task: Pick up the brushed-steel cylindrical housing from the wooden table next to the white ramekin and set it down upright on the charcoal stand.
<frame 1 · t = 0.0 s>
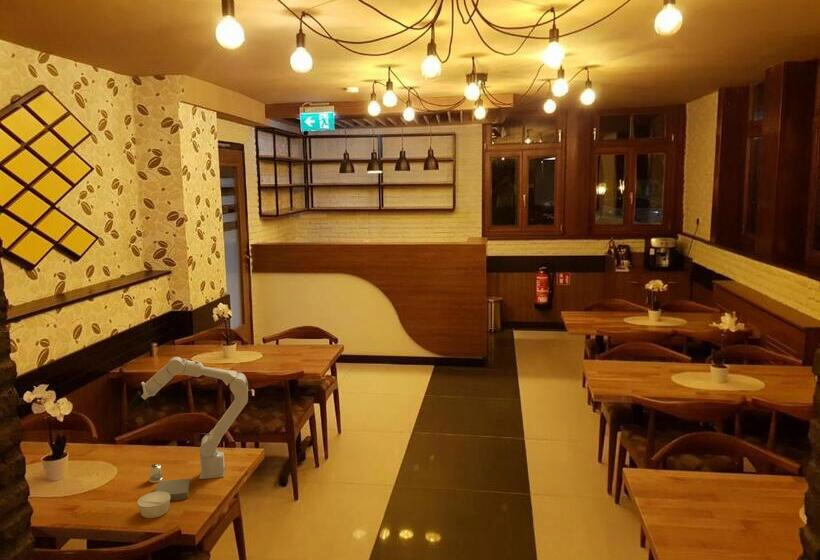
hand: (132, 405, 251), 32 cm above the table, tool tilted 50°, fingers open, 7 cm apart
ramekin: (155, 512, 233), on the table
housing: (156, 480, 258), on the table
stand: (172, 493, 247), on the table
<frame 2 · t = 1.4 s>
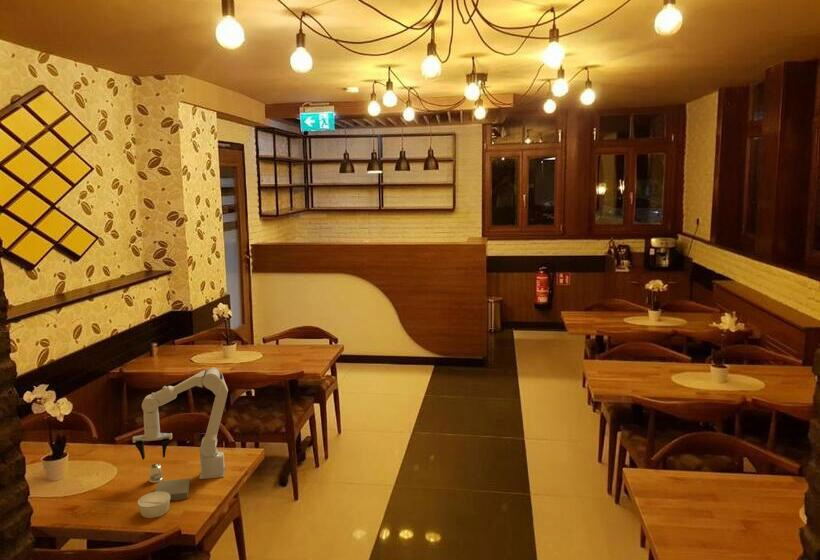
hand: (153, 457, 256), 10 cm above the table, tool pointing down, fingers open, 7 cm apart
nothing on the table moved.
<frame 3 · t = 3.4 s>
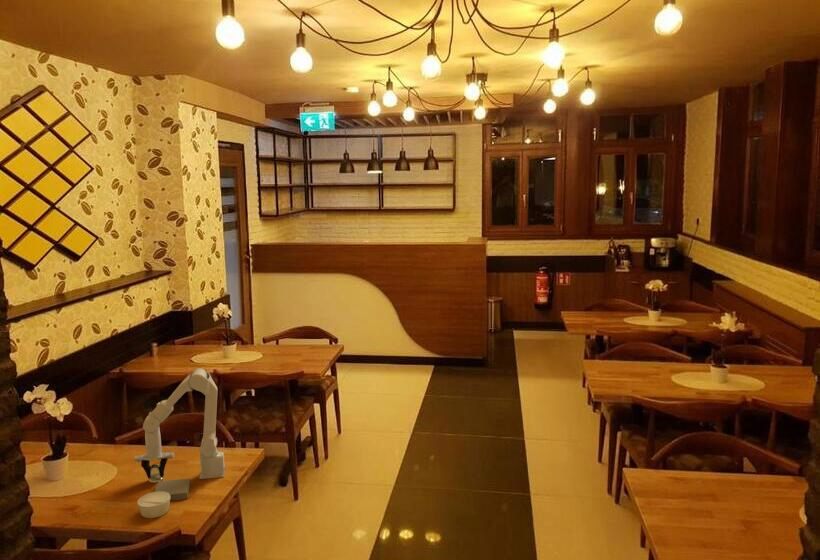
hand: (155, 476, 258), 1 cm above the table, tool pointing down, fingers closed on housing, 4 cm apart
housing: (156, 480, 258), on the table, touching gripper
everything else where it was.
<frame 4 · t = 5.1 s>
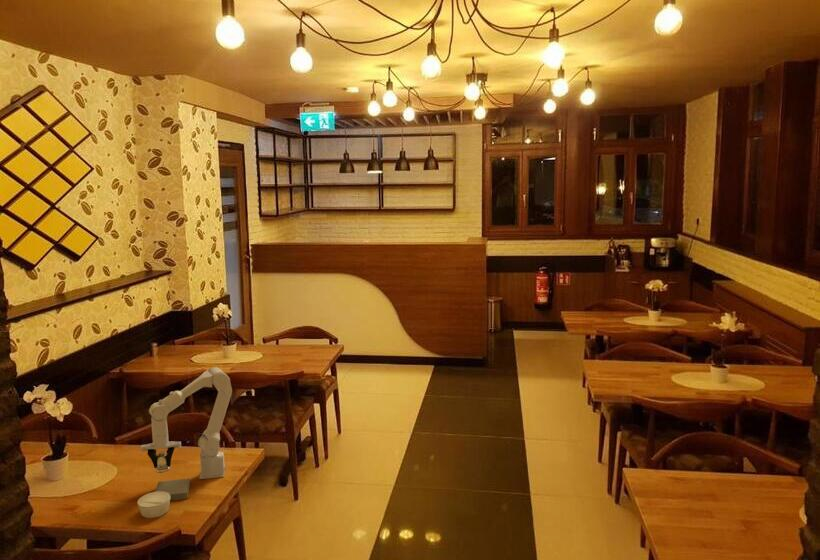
hand: (162, 466, 251), 8 cm above the table, tool pointing down, fingers closed on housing, 4 cm apart
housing: (162, 469, 252), point 7 cm above the table, touching gripper
everything else where it was.
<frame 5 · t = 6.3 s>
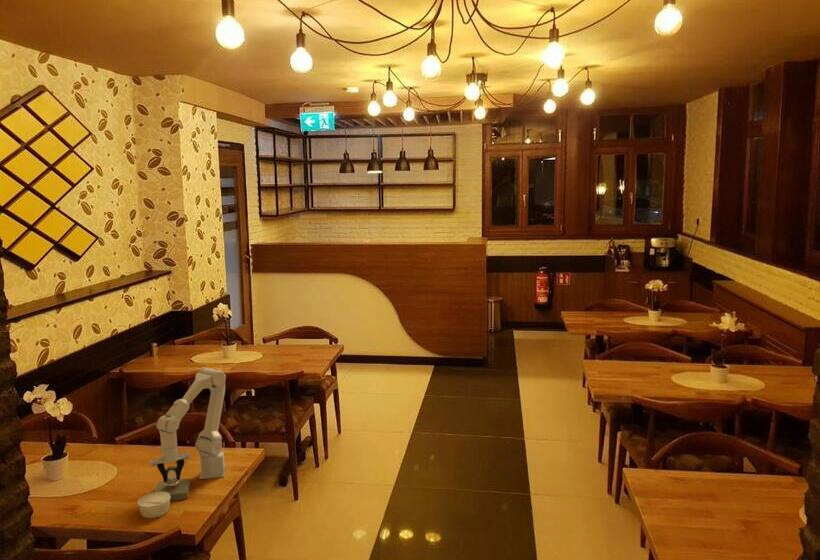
hand: (171, 480, 246), 5 cm above the table, tool pointing down, fingers closed on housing, 4 cm apart
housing: (171, 483, 246), point 4 cm above the table, touching gripper
everything else where it was.
when the fingers open (5 cm above the table, at t = 7.0 s): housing drops 1 cm, resting on stand.
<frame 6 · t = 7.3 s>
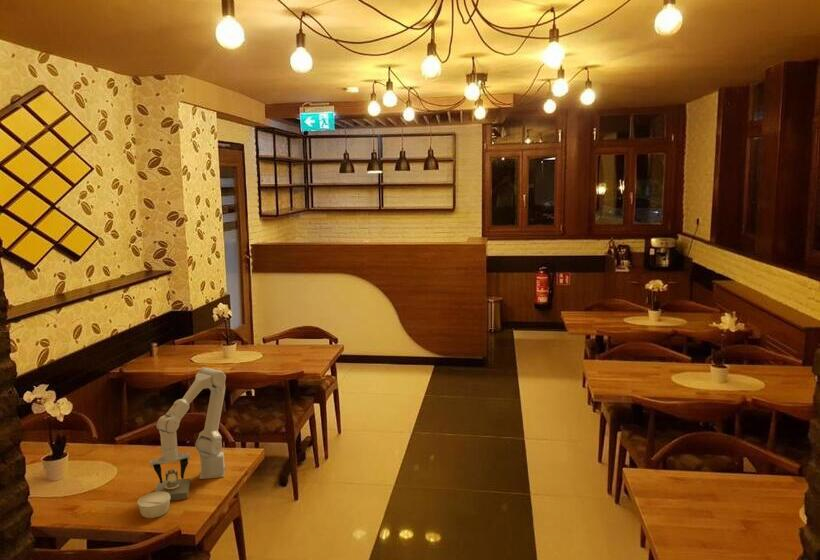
hand: (171, 480, 246), 5 cm above the table, tool pointing down, fingers open, 7 cm apart
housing: (172, 486, 247), point 3 cm above the table, touching stand
everything else where it was.
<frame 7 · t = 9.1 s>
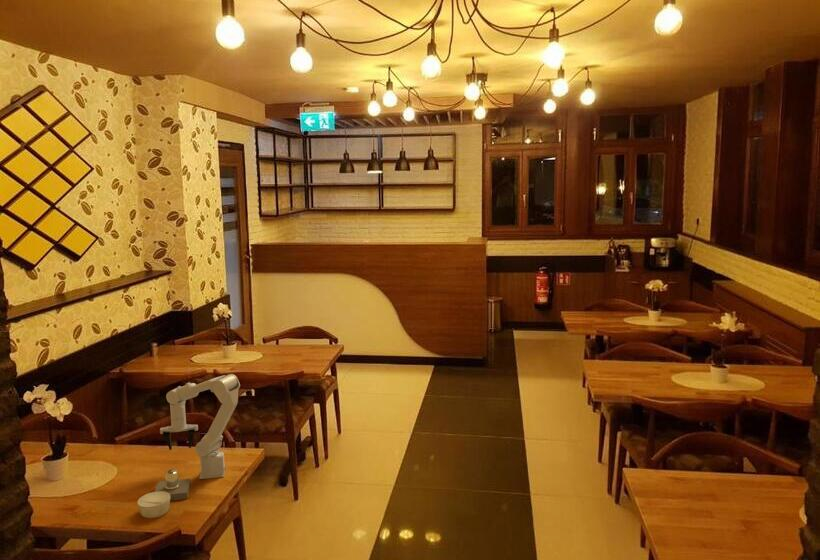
hand: (180, 448, 266), 9 cm above the table, tool pointing down, fingers open, 7 cm apart
nothing on the table moved.
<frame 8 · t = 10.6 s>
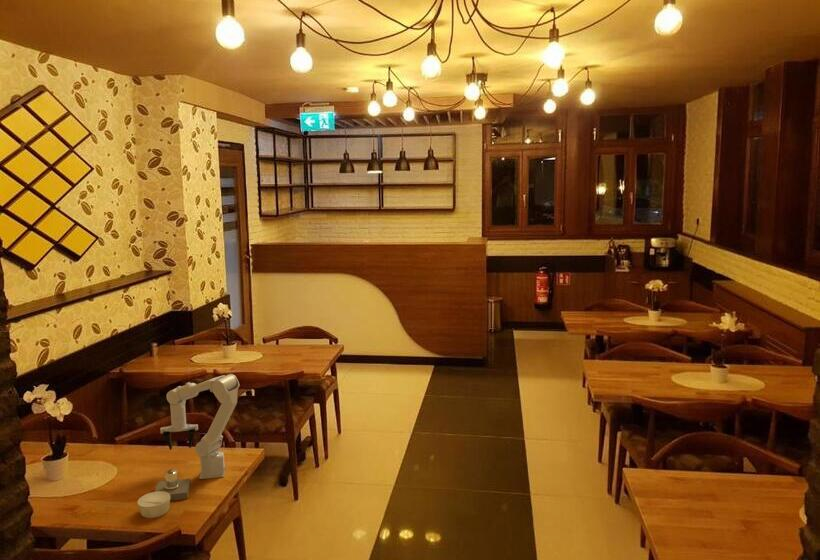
hand: (180, 447, 266), 9 cm above the table, tool pointing down, fingers open, 7 cm apart
nothing on the table moved.
at the end: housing inside the target area on the stand (0.2 cm from its centre), point 2.6 cm above the stand's base; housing tilted 2°; the gripper is holding nothing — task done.
